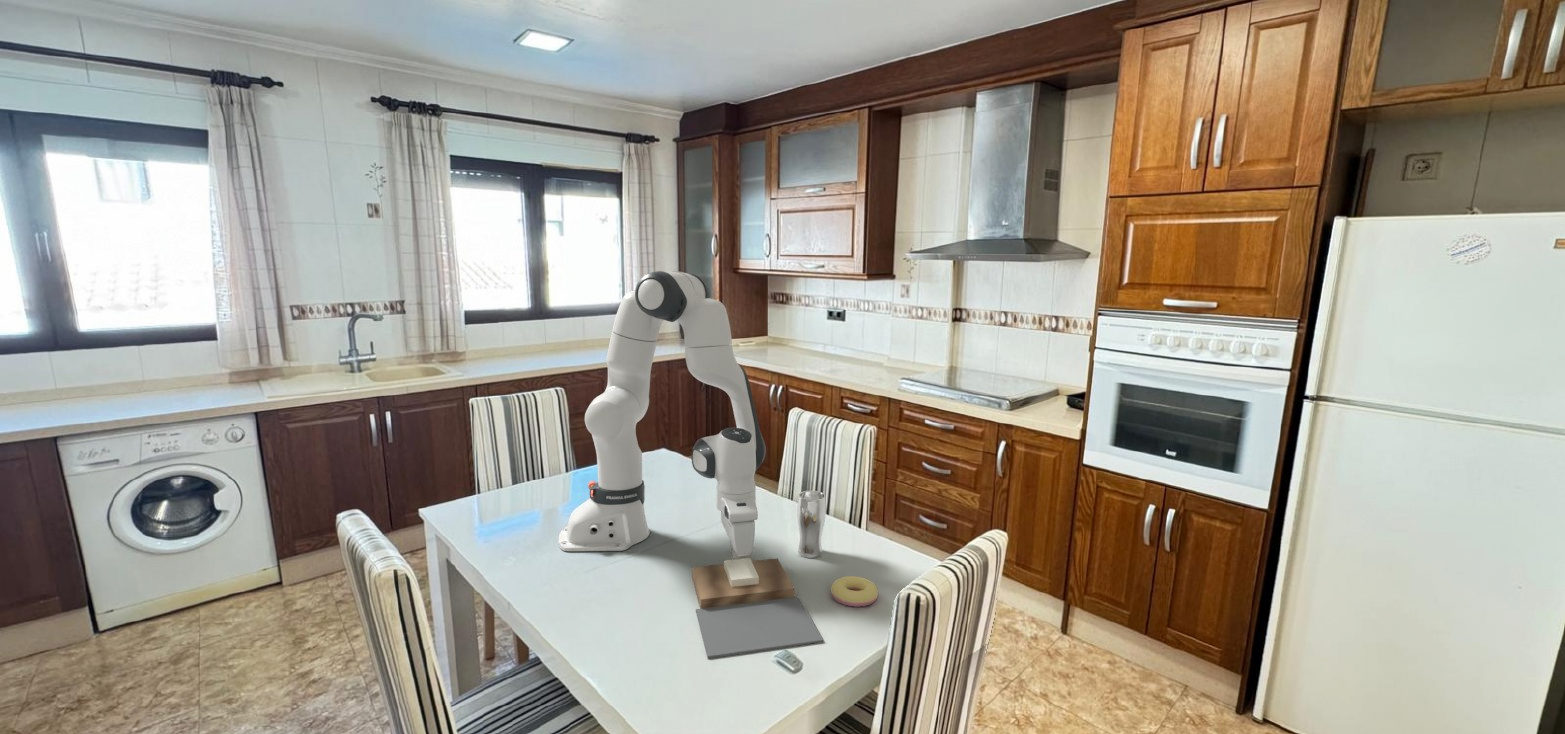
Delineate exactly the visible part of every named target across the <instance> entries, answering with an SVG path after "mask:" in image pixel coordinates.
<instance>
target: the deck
mask: <svg viewBox="0 0 1565 734" xmlns="http://www.w3.org/2000/svg"><path fill="white" fill-rule="evenodd" d="M751 561H752V563H753V566H754V568H755V570H756V572H757V574H758V576H759V584H754V585H745V586H736V587H731V585H730V582H729V580H728V577H727V574H726V571H725V569H724V563H721V564H711V565H702V566H692V567H691V575H692V576H691V578H692V583H693V587H694V590H695V594H696V597H697V602H698V605H699V609H700V608H709V607H717V606H725V605H733V604H741V603H750V602H758V601H766V600H774V599H782V598H790V597H795V587H794V585H793V583H792V581H791V579H790V578H789V576H788V575H787V572H786V570H785V569H784V567H783V566H782V563H781V562H780V560H779V558H768V559H760V560H758V559H757V560H751Z"/></svg>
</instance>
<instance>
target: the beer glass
mask: <svg viewBox="0 0 1565 734" xmlns="http://www.w3.org/2000/svg"><path fill="white" fill-rule="evenodd" d="M826 502H827V501H826V494H825V493H823V492H822V491H819V490H804V491H801V492H800V493H798V501H797V510H796V512H797V513H796V514H797V515H796V517H797V525H798V531H799V544H798V549H797V553H798V555H799V556H800V557H802V558H805V557H806V558H807V559H815V558H816V557H817V558H819V557H821V556H822V555H823V548H822V535H823V531H824V526H825V521H826V514H827V513H826V511H827V507H826V506H827V505H826V504H827V503H826ZM817 558H816V559H817Z"/></svg>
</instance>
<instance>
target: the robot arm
mask: <svg viewBox="0 0 1565 734" xmlns="http://www.w3.org/2000/svg"><path fill="white" fill-rule="evenodd" d="M710 291H711V290H710V289H709V286H708V284H707V283H706V282H705V281H704V280H703V279H702V278H701V277H700V276H698V275H695V274H693V273H686V272H682V271H677V270H673V271H661V270H659V271H652V272H650V273H647V274H645V275H644V276H642V277H641V278H640V279H639V281H638V282H637V283H636V286H635V290H630V291H627V293H625V294H624V295H623V297H622V299H621V301H620V304H619V307H618V309H617V312H616V315H615V318H614V321H613V324H612V330H611V333H610V334H611V335H610V338H609V344H608V349H607V354H606V357H605V363H606V367H607V384H606V388H605V391H603V393H601V394H600V395H597V396H596V397H595V398H593V400H592V401H591V402H590V404H589V406H588V407H587V409H586V411H585V413H584V423H585V426H586V429H587V431H588V432H589V433H590V434H591V437H592V441H593V443H594V447H595V453H596V464H597V482H596V481H595V480H591V481H589V482H588V485H587V486H588V489H589V498H588V499H587V500H585V501H584V502H583V503H581V504H580V505H579V506H577V507H576V508H575V509H574V510H572V512H571V514H570V516H569V519H568V522H567V526H565V527H563V528H562V529H561V531H560V532H559V535H558V546H559V548H560V549H561V551H564V552H617V551H618V552H620V551H626V550H629V548H631V547H632V546H633V545H636V544H639V543H640V542H642V541H644V540H646V539H647V538H648V537H649V536H650V529H649V526H648V522H647V518H646V512H645V505H644V503H645V499H646V494H645V493H646V490H645V489H646V485H645V481H644V480H643V453H642V450H641V448H640V446H639V444H638V439H637V434H636V428H637V427H636V426H637V423H638V422H640V421H641V420H642V419H643V418H644V417H645V415H646V414H647V411H648V408H649V405H650V397H649V396H650V387H651V384H650V383H651V371H652V365H653V362H654V357H655V353H656V347H657V342H658V339H659V334H660V329H661V325H662V324H663V322H664V321H665V322H670V323H674V322H677V323H679V325H680V326H681V328H682V331H683V337H684V339H683V341H684V357H685V362H686V367H687V370H688V372H689V374H691V375H692V376H693V377H694V378H695V379H696V380H698V381H699V382H701V383H703V384H706V385H709V386H713V387H715V388H719V389H720V390H722V391H724V392H725V393H726V394H727V396H729V399H730V402H731V406H732V410H733V415H734V420H735V425H736V427H727V428H726V427H725V428H724V429H722V430H721V431H720V432H719V433H717V434H714V435H709V436H705V437H701V438H699V439H697V440H696V441H695V443H694V445H693V447H692V451H691V464H692V468H693V469H694V471H695V472H696V473H697V474H698V475H700V476H701V477H703V478H707V479H714V480H716V481H717V482H716V483H717V484H716V509H717V510H718V511H719V512H720V521H721V524H722V526H723V528H724V530H725V532H726V536H727V537H728V539H729V545H730V546H729V548H730V554H731V556H732V560H734V559H741V557H745V556H751V555H752V554H753V551H754V548H755V547H754V546H755V535H756V534H755V533H756V521H757V520H758V517H759V514H758V507H757V498H756V487H757V486H756V482H755V473H756V472H757V471H756V470H758V469H759V468H760V467H761V465H762V464H763V463H764V460H765V458H766V454H767V447H766V444H765V443H766V442H765V440H764V438H763V435H762V433H761V430H760V426H759V420H758V417H757V413H756V412H757V411H756V408H755V407H756V406H755V402H754V397H753V394H752V388H751V384H750V380H749V378H748V374H747V372H746V370H745V369H744V367H742V366H741V365H740V364H739V363H738V361H737V360H736V356H735V354H734V350H733V339H732V331H731V326H730V320H729V316H728V312H727V308H726V306H725V305H724V304H723V303H722V302H721V301H720V300H717V299H716V298H715V299H714V298H711V292H710Z"/></svg>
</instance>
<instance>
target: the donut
mask: <svg viewBox="0 0 1565 734" xmlns="http://www.w3.org/2000/svg"><path fill="white" fill-rule="evenodd" d="M830 592H831V593H830V594H831V595H832V597H833V598H834V600H836V602H838V603H839V602H840V604H841V605H844V606H847V605H848V607H852V606H853V608H861V607H860V606H863V607H868V606H871V604H874V603H875V601H876V600H877V599H878V596H879V590H878V588H877V586H876V584H875V583H874V582H872V581H871V580H869V579H867V578H866V577H862V576H854V575H849V576H843V577H840V578H838V579H836V580H835V581H834V582H832V585H831V588H830ZM867 605H868V606H867Z"/></svg>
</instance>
